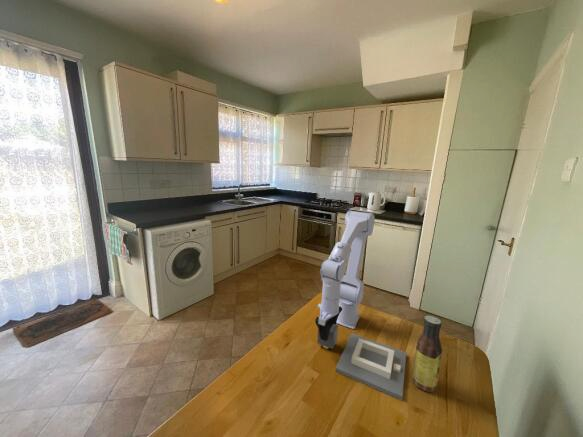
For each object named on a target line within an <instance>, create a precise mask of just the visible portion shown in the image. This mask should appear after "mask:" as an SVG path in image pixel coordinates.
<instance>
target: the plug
mask: <svg viewBox="0 0 583 437" xmlns="http://www.w3.org/2000/svg"><path fill="white" fill-rule="evenodd" d="M317 329H318V328H317ZM338 332H339V324H336V325H335V324H333V326H332V327H331V329H330V332H329V336H328V339H327V341H324V340H322V339H321V338H320V334H319V329H318V330H317V344H319V345H322V348H323V349H327V350H328V349H332V350H333V349H334V348H335V345H336V343H337V341H338V334H339V333H338Z"/></svg>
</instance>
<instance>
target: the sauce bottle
mask: <svg viewBox="0 0 583 437" xmlns="http://www.w3.org/2000/svg"><path fill="white" fill-rule="evenodd" d="M423 323H424V324H423V325H424V326H423V330H422V332H421V333H420V334H419V335H418V336H417V339H416V340H417V341H416V345H415V352H414V359H413V365H412V374H411V375H412V376H411V377H412V382H413V384H414V385H415V386H416V387H417V388H419V389H420V390H421V391H424V392H428V393H432V392H434V391H436V388H437V386H438V382H439V375H440V368H441V363H442V356H443V348H442V347H443V346H442V343H441V339H440V330H441V328H442V321H441V319H439V318H438V317H436V316H433V315H425V316H424V318H423Z"/></svg>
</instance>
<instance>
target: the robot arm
mask: <svg viewBox="0 0 583 437" xmlns="http://www.w3.org/2000/svg"><path fill="white" fill-rule="evenodd" d="M375 221H376V219H375V215H374V213H373V212H370V213H369V212H363V211H362V212H361V211H354V210H348V211H347V212H346V214H345V218H344V223H345V224H344V225H345V229H344V232H343V234H342V236H341V239H340V241H338V242H336V243H335V245H334V246H333V247H332V248H333V249H332V251H331V253H330V255H329V256H328V259H324V260H323V261H322V264H321V267H320V271H319V273H320V276H321V278H320V280H321V282H322V289H321V290H322V292H321V301H320V302H321V303H318V305H317V309H319V310H320V311H319V316H316V318H315V320H314V323H315V324H316V325H315V326H317V329H319V334H320V338H321V339H322V340H324V341H327V339H328V336H329V332H330V329H331V327H332V326H333V324H335V325H340V326H343V327H346V328H349V329H352V330H354V329H355V328H356V326H357V323H358V322H359V319H360V315H359V314H358V309H359V304H361V303H362V300H363V297H364V289H365V284H364V282H362V280H361V279H360V277H359V274H360V271H361V266H362V261H363V255H364V251H365V245H366V242H367V239H368V237H369V236H370V237H371V236H372V235H373V231H374V226H375ZM347 262H348V263H347Z"/></svg>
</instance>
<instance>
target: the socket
mask: <svg viewBox="0 0 583 437" xmlns="http://www.w3.org/2000/svg"><path fill="white" fill-rule="evenodd" d="M406 359H407V352H406V351H404V350H401V349H398V348H395V347H392V346H390V345H387V344H383V343H381V342H379V341H375V340H372V339H369V338H366V337H364V336H361V335H358V334H355V333H352V332H351V334H350V336H349V338H348V340H347V342H346V345H345V347H344V349H343V351H342V353H341V355H340V358H339V360H338V361H337V365H336V367H335V372H337V373H339V374H341V375H344V376H346V377H348V378H350V379H353V380H355V381H357V382H359V383H362V384H364V385H366V386H369V387H371V388H373V389H375V390H377V391H380V392H381V393H382V392H383V393H385V394H387V395H389V396H391V397H394V398H396V399H398V400H400V401H402V400H403V394H404V383H405V382H404V381H405V372H406V361H407V360H406Z"/></svg>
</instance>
